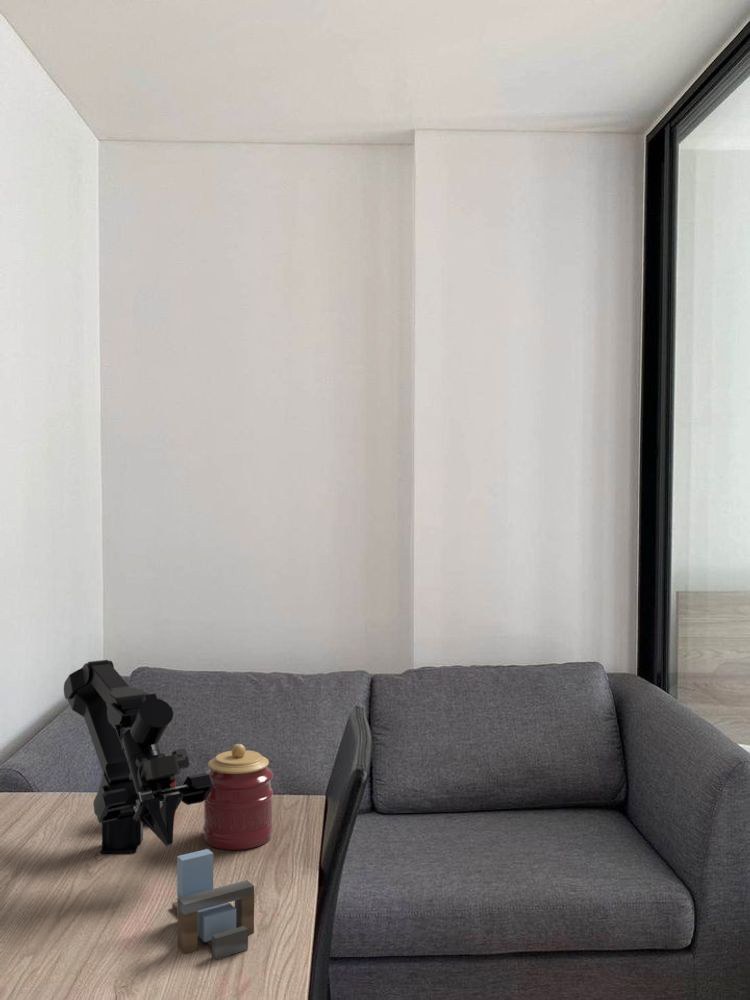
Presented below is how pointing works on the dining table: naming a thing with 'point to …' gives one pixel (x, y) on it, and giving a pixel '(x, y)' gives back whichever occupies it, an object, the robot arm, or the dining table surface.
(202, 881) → the light blue l-shaped block
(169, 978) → the dining table surface
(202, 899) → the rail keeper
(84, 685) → the robot arm
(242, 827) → the canister
